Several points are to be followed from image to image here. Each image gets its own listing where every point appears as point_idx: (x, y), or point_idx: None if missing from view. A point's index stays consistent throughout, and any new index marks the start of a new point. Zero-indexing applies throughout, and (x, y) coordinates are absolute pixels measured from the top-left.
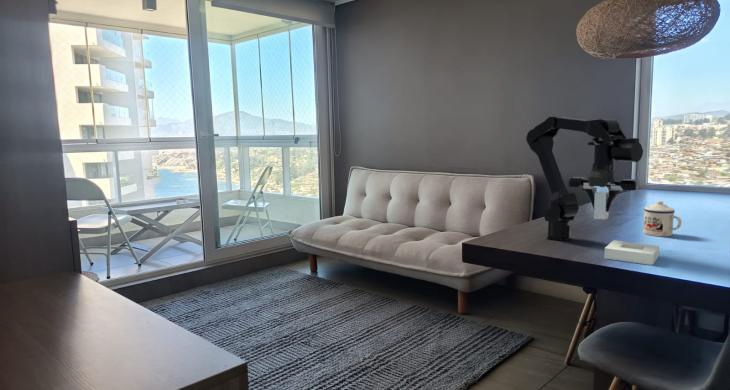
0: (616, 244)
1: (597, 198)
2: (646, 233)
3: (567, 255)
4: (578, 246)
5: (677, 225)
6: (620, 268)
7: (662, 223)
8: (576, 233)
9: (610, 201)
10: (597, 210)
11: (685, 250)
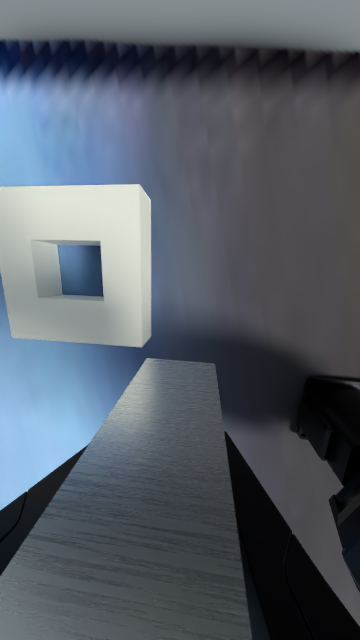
0: (118, 279)
1: (186, 534)
2: None
3: (270, 159)
4: (254, 327)
5: None
6: (78, 82)
7: None
8: (287, 499)
9: (33, 495)
10: (190, 394)
11: (10, 419)
